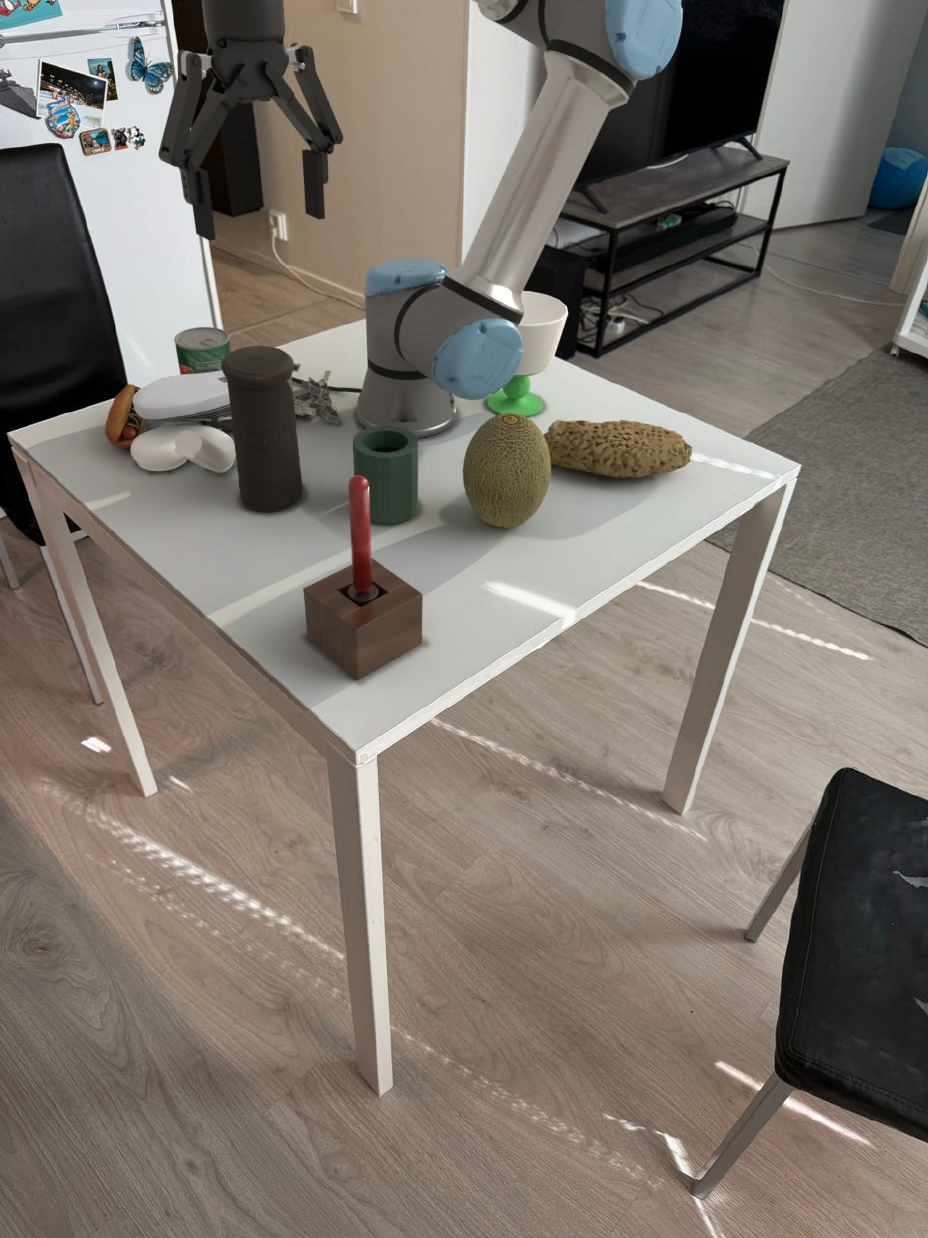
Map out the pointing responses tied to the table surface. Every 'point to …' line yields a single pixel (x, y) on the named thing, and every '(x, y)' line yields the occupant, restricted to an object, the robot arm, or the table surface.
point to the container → (264, 427)
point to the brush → (360, 542)
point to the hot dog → (124, 419)
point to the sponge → (616, 448)
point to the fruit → (507, 470)
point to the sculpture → (184, 448)
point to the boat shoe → (187, 400)
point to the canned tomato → (201, 349)
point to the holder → (363, 620)
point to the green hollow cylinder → (388, 472)
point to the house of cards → (314, 398)
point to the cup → (532, 353)
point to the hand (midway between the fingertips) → (262, 226)
